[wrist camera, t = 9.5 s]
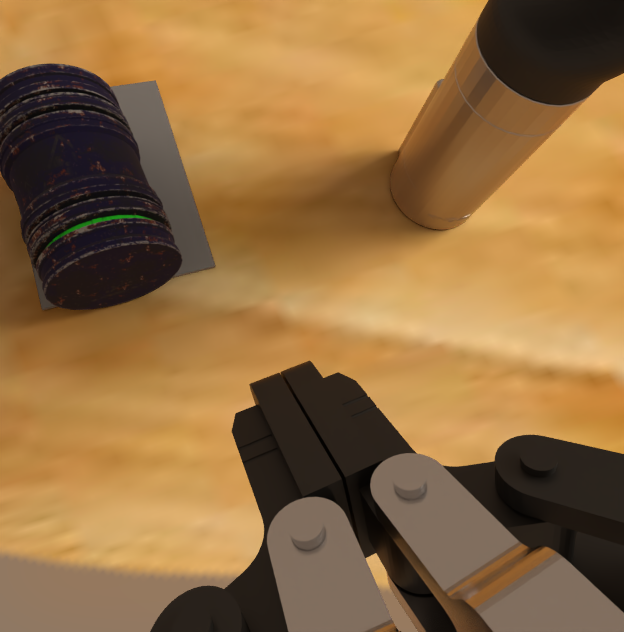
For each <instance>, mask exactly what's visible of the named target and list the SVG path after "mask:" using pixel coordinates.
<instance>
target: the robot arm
mask: <svg viewBox="0 0 624 632" xmlns="http://www.w3.org/2000/svg"><path fill="white" fill-rule="evenodd" d="M623 73H624V0H488V2H487V4H486V6H485V8H484V9H483V11H482V13H481V15H480V17H479V18H478V20H477V22H476V24H475V25H474V27H473V29H472V31H471V32H470V34H469V36H468V38H467V39H466V41H465V43H464V44H463V46H462V48H461V50H460V52H459V54H458V55H457V57H456V59H455V61H454V62H453V64H452V66H451V68H450V69H449V71H448V73H447V75H446V76H445V78H444V79H441V80H439V81H438V82H437V83H436V84H435V86H434V88H433V89H432V91H431V93H430V95H429V97H428V98H427V100H426V102H425V104H424V105H423V107H422V109H421V111H420V113H419V114H418V116H417V118H416V120H415V122H414V123H413V125H412V127H411V129H410V131H409V132H408V134H407V136H406V138H405V139H404V141H403V143H402V145H401V147H400V148H399V158H398V160H397V161H396V163H395V165H394V167H393V169H392V172H391V176H390V188H391V193H392V195H393V198H394V200H395V202H396V204H397V205H398V207H399V208H400V209H401V211H402V212H403V213H404V214H405V215H406V216H407V217H409V218H410V219H411V220H413V221H414V222H416V223H418V224H420V225H422V226H424V227H428V228H431V229H439V230H443V229H451V228H454V227H457V226H459V225H461V224H462V223H464V222H465V221H466V220H467V219H468V218H469V217H470V216H471V215H472V214H473V213H474V212H475V211H476V210H477V209H478V208H479V207H480V206H481V205H482V204H483V203H484V202H485V201H486V200H487V199H488V198H489V197H490V196H491V195H492V194H493V193H494V192H495V191H496V190H497V189H498V188H499V187H500V186H501V185H502V184H503V183H504V182H505V181H506V180H507V179H508V178H509V177H510V176H511V175H512V174H513V173H514V172H515V171H516V170H517V169H518V168H519V167H520V166H521V165H522V164H523V163H524V162H525V161H526V160H527V159H528V158H529V157H530V156H531V155H532V154H533V153H534V152H535V151H536V150H537V149H538V148H539V147H540V146H541V145H542V144H543V143H544V142H545V141H546V140H547V139H548V138H549V137H550V136H551V135H552V134H553V133H554V132H555V131H556V130H557V129H558V128H559V127H560V126H561V125H562V124H563V123H564V122H565V121H566V119H567V118H568V117H569V116H570V115H571V114H572V113H573V112H574V111H575V110H576V109H577V108H578V107H579V106H580V105H581V104H582V103H583V102H584V101H585V100H586V99H587V98H588V97H589V96H590V95H591V94H592V93H593V92H594V91H595V90H596V89H597V88H598V87H599V86H600V85H601V84H602V83H604V82H605V81H608V80H610V79H612V78H615V77H617V76H619V75H621V74H623ZM250 389H251V392H252V395H253V398H254V401H255V404H256V406H253V407H251V408H248V409H246V410H243V411H241V412H238V413H236V414H235V419H234V423H233V428H232V433H233V436H234V439H235V442H236V445H237V448H238V450H239V453H240V456H241V459H242V462H243V465H244V468H245V470H246V473H247V476H248V479H249V482H250V485H251V487H252V490H253V493H254V496H255V499H256V502H257V504H258V507H259V510H260V513H261V516H262V519H263V523H264V538H263V542H262V546H261V548H260V550H259V553H258V554H257V556H256V558H255V559H254V561H253V562H252V563H251V565H250V566H249V567H248V568H247V569H246V570H245V571H244V572H243V573H242V574H241V575H240V576H239V577H237V578H236V579H235V580H234V581H233V582H232V583H231V584H230V585H228V587H226V588H225V589H222V588H219V587H216V586H201V587H197V588H193V589H191V590H189V591H187V592H185V593H183V594H182V595H180V596H178V597H177V598H176V599H174V600H173V601H172V602H171V603H170V604H169V605H168V606H167V607H166V608H165V609H164V611H163V612H162V613H161V614H160V616H159V617H158V619H157V621H156V622H155V624H154V626H153V628H152V629H151V631H150V632H401V631H398V629H397V628H396V626H395V624H394V622H393V620H392V618H391V616H390V614H389V611H388V609H387V607H386V604H385V602H384V600H383V598H382V596H381V593H380V591H379V589H378V586H377V584H376V582H375V579H374V577H373V575H372V573H371V570H370V568H369V566H368V564H367V561H366V559H365V558H367V557H369V556H371V555H373V554H375V553H377V555H378V557H379V558H380V560H381V562H382V564H383V565H384V567H385V569H386V572H387V577H388V583H389V586H390V589H391V590H392V592H393V594H394V596H395V597H396V599H397V600H398V602H399V603H400V605H401V606H402V608H403V609H404V611H405V612H406V614H407V615H408V617H409V618H410V620H411V622H412V623H413V624H414V626H415V628H416V629H417V631H418V632H624V454H620V453H616V452H612V451H607V450H603V449H598V448H594V447H589V446H585V445H580V444H576V443H572V442H567V441H563V440H558V439H554V438H549V437H545V436H539V435H522V436H517V437H514V438H511V439H509V440H507V441H506V442H504V443H503V444H502V445H501V446H500V447H499V448H498V450H497V452H496V455H495V462H488V463H482V464H475V465H468V466H459V467H449V466H442V465H441V464H440V463H439V462H437V461H436V460H434V459H432V458H430V457H428V456H425V455H421V454H417V453H416V452H415V451H414V450H413V449H412V448H411V447H410V446H409V444H408V443H407V442H406V441H405V440H404V438H403V437H402V436H401V435H400V434H399V432H398V431H397V430H396V429H395V428H394V426H393V425H392V424H391V423H390V422H389V420H388V419H387V418H386V417H385V416H384V414H383V413H382V412H381V411H380V409H379V408H377V407H376V405H375V403H374V402H373V401H372V400H371V399H370V397H368V396H367V394H366V393H365V391H364V390H363V389H362V388H361V387H360V385H359V384H358V383H357V382H356V381H355V380H353V379H351V378H349V377H347V376H345V375H343V374H340V373H335V374H333V375H330V376H328V377H325V378H323V377H322V376H321V374H320V373H319V372H318V370H317V369H316V368H315V366H314V365H313V363H312V362H311V361H307V362H305V363H302V364H300V365H297V366H295V367H292V368H289V369H287V370H284V371H282V372H281V375H280V373H277V374H274V375H272V376H269V377H267V378H264V379H261V380H259V381H256V382H254V383H251V384H250Z"/></svg>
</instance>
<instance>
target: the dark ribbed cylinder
mask: <svg viewBox="0 0 624 632" xmlns="http://www.w3.org/2000/svg"><path fill="white" fill-rule="evenodd" d="M0 171H1V174H2V176H3V178H4V179H5V181H6V183H7V185H8V186H9V188H10V189H11V190H12V191H13V192H14V195H15V198H16V200H17V203H18V206H19V209H20V212H21V215H22V219H21V230H22V238H23V240H24V242H25V243H26V244H27V250H28V253H29V256H30V259H31V262H32V265H33V267H34V268H35V269H36V271H37V274H38V276H39V278H40V280H41V281H42V282H43V283H42V289H43V292H44V295H45V297H46V299H47V300H48V301H49V302H50V303H51V304H53V305H55V306H57V307H60V308H65V309H73V310H87V309H97V308H103V307H108V306H113V305H117V304H121V303H124V302H127V301H130V300H133V299H136V298H138V297H141V296H143V295H145V294H147V293H150V292H152V291H153V290H155V289H157V288H159V287H160V286H162V285H163V284H165V283H166V282H168V281H169V280H170V279H171V278H172V277H173V276H174V275H175V274H176V273H177V272H178V271H179V269H180V267H181V265H182V255H181V253H180V250H179V249H178V247H177V246H176V245H175V240H174V236H173V233H172V228H171V224H170V222H169V220H168V217H167V215H166V213H165V211H164V209H163V205H162V202H161V200H160V198H159V197H158V195H157V194H156V192H155V191H154V190H153V189H152V188H151V187H150V186H149V183H148V181H147V178H146V176H145V174H144V171H143V169H142V166H141V164H140V153H139V148H138V144H137V142H136V140H135V138H134V137H133V133H132V131H131V128H130V126H129V123H128V121H127V119H126V117H125V116H124V115H123V113H122V110H121V108H120V106H119V103H118V100H117V98H116V96H115V94H114V92H113V90H112V89H111V88H110V86H109V85H108V84H107V83H106V82H105V81H104V80H103V79H101V78H100V77H98V76H97V75H95V74H94V73H91V72H89V71H87V70H85V69H82V68H78V67H75V66H70V65H65V64H39V65H33V66H28V67H25V68H22V69H18V70H16V71H14V72H12V73H10V74H8V75H6V76H5V77H3V78H2V79H0Z"/></svg>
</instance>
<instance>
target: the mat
mask: <svg viewBox="0 0 624 632" xmlns="http://www.w3.org/2000/svg"><path fill="white" fill-rule="evenodd" d="M110 88H111V89H112V90H113V92H114V94H115V96H116V98H117V100H118V103H119V106H120V108H121V110H122V113H123V115H124V116H125V117H126V119H127V121H128V123H129V126H130V128H131V131H132V133H133V137H134V138H135V140H136V142H137V144H138V148H139V153H140V164H141V166H142V169H143V171H144V174H145V176H146V178H147V181H148V183H149V186H150V187H151V188H152V189H153V190H154V191H155V192H156V194H157V195H158V197H159V198H160V200H161V202H162V205H163V209H164V211H165V213H166V215H167V217H168V220H169V222H170V224H171V228H172V233H173V236H174V240H175V245H176V246H177V247H178V249H179V250H180V253H181V255H182V265H181V267H180V269H179V271H178V272H177V273H176V274H175V275H174V276H173V277H172V278H174V277H178V276H182V275H186V274H190V273H194V272H198V271H202V270H206V269H210V268H214V267H215V263H214V260H213V257H212V254H211V251H210V248H209V245H208V241H207V238H206V235H205V232H204V229H203V226H202V223H201V220H200V217H199V214H198V210H197V207H196V204H195V201H194V198H193V195H192V192H191V189H190V186H189V183H188V179H187V176H186V173H185V170H184V167H183V164H182V161H181V158H180V155H179V151H178V148H177V145H176V142H175V139H174V136H173V133H172V130H171V127H170V124H169V120H168V117H167V114H166V111H165V108H164V105H163V102H162V99H161V96H160V93H159V89H158V86H157V83H156V81H149V82H142V83H135V84H128V85H120V86H113V87H110ZM20 214H21V212H20ZM21 218H22V215H21ZM31 263H32V262H31ZM32 267H33V265H32ZM33 272H34V276H35V281H36V285H37V290H38V294H39V299H40V303H41V307H42V310H46V309H50V308H54V307H57V306H55V305H53V304H51V303H50V302H49V301H48V300H47V299H46V297H45V295H44V292H43V289H42V283H43V282H42V281H41V280H40V278H39V276H38V274H37V271H36V269H35V268H34V267H33Z"/></svg>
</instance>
